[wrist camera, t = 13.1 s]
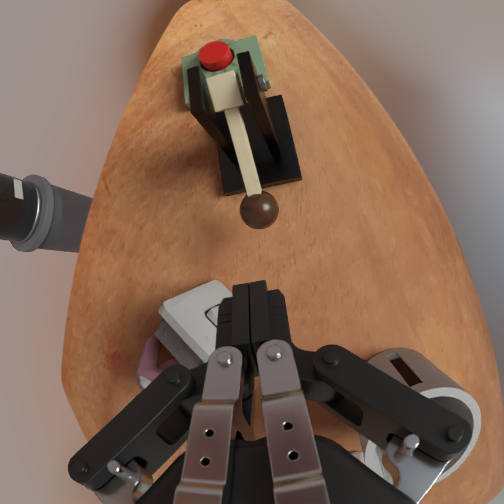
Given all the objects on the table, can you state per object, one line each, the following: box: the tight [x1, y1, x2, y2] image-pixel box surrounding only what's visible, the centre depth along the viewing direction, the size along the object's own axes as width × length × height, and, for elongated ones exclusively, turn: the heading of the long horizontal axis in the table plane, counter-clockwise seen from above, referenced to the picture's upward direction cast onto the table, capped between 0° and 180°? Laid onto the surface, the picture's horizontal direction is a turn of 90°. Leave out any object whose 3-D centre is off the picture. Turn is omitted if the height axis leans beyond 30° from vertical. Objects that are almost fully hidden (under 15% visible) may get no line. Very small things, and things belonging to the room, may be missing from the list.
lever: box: [206, 70, 279, 229], centre depth 24 cm, size 13×3×3 cm
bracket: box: [187, 51, 302, 196], centre depth 26 cm, size 10×8×13 cm
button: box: [198, 41, 233, 71], centre depth 30 cm, size 4×4×2 cm
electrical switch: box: [154, 279, 232, 370], centre depth 27 cm, size 9×5×9 cm, turn 46°
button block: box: [182, 36, 271, 109], centre depth 32 cm, size 10×8×4 cm
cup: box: [359, 348, 481, 485], centre depth 21 cm, size 9×9×12 cm
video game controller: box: [137, 334, 201, 391], centre depth 30 cm, size 10×5×7 cm, turn 86°
